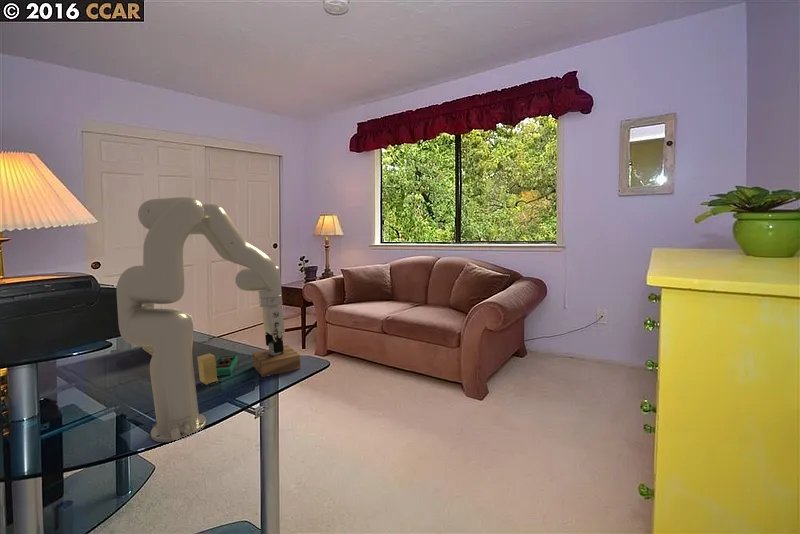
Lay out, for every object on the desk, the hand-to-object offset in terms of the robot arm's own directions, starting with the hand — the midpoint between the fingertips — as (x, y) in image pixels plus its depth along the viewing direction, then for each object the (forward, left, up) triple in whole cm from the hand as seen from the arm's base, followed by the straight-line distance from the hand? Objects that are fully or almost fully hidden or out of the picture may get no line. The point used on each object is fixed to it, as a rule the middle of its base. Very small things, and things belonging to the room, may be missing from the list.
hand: (274, 348), depth 145 cm
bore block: (0, 0, -7) cm, 7 cm away
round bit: (0, 0, -7) cm, 7 cm away
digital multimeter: (+11, +15, -8) cm, 20 cm away
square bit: (+1, +22, -7) cm, 23 cm away
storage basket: (+50, +31, -7) cm, 60 cm away
